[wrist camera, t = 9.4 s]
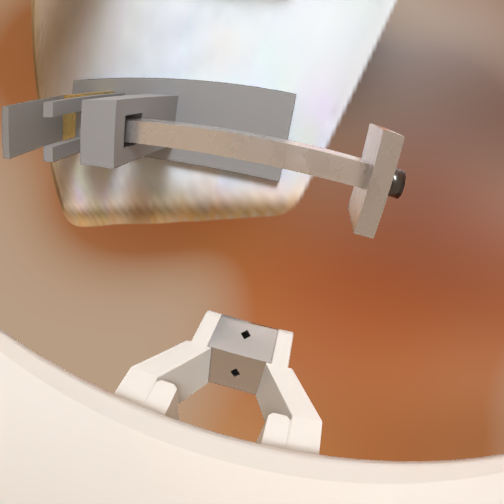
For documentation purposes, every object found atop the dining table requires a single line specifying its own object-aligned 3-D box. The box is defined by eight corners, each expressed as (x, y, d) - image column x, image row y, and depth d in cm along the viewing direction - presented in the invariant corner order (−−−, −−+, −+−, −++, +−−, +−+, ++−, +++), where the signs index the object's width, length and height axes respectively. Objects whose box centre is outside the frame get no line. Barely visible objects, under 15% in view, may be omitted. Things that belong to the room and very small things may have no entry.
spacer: (97, 91, 32) (64, 95, 27) (114, 91, 32) (81, 94, 27) (94, 137, 36) (62, 147, 30) (111, 138, 35) (79, 148, 30)
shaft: (116, 86, 26) (78, 89, 21) (403, 134, 23) (424, 143, 18) (112, 158, 30) (76, 173, 25) (379, 215, 27) (392, 243, 22)
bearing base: (78, 80, 33) (0, 89, 21) (296, 94, 30) (280, 88, 18) (75, 146, 38) (2, 174, 26) (279, 179, 35) (255, 227, 23)
